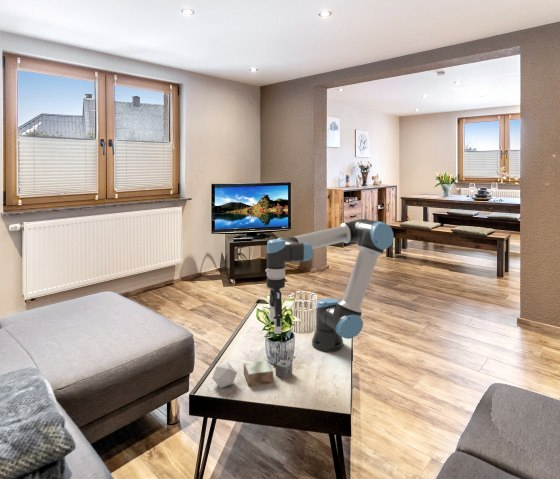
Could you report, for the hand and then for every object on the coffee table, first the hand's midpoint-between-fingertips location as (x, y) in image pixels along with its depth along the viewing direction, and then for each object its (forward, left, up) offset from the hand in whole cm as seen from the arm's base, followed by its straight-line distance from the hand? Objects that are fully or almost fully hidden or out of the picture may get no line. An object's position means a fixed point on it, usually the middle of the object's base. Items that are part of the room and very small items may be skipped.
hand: (275, 326), depth 166 cm
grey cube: (-4, +2, -20) cm, 20 cm away
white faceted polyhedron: (+18, +14, -20) cm, 30 cm away
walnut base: (+6, +7, -20) cm, 22 cm away
